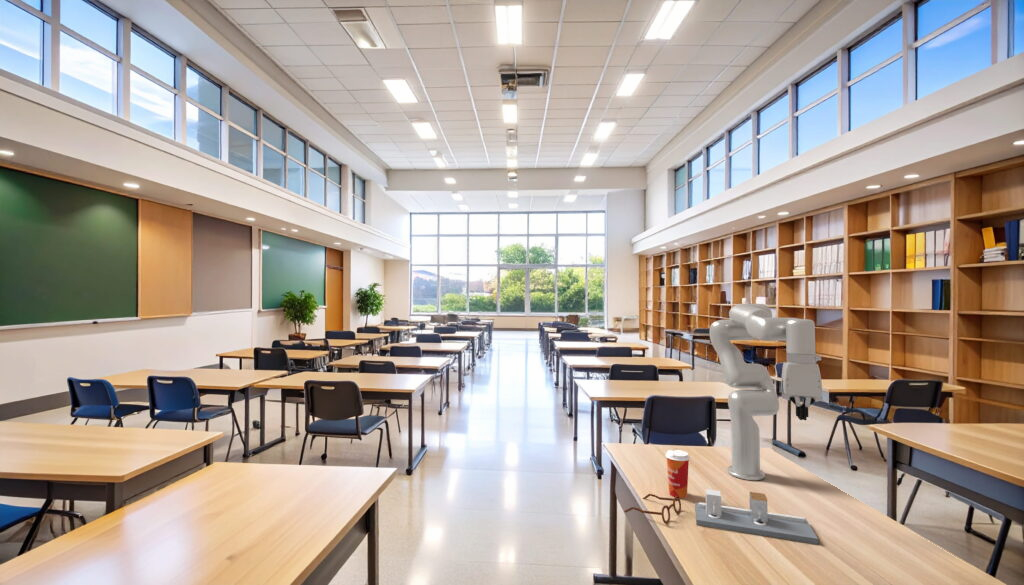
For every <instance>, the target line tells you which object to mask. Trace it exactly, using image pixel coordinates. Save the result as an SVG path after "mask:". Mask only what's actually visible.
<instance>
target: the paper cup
mask: <svg viewBox="0 0 1024 585" xmlns="http://www.w3.org/2000/svg"><path fill="white" fill-rule="evenodd" d="M665 457H666V466H667V468H666V469H667V479H668V480H667V482H668V483H667V484H668V493H669V495H670V496H671V497H672V498H674V497H676V496H677V497H679V499H685V498H687V497H688V485H689V465H690V464H689V462H690V459H691V458H690V456H689V453H688V452H687V451H685V450H684V451H683V450H680V449H672V450H671V449H669V450H667V451H666V454H665Z"/></svg>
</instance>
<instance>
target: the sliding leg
mask: <svg viewBox="0 0 1024 585" xmlns="http://www.w3.org/2000/svg"><path fill="white" fill-rule="evenodd" d="M749 510H750V516H751V519H752V520H753V521H759V522H766V523H768V497H767V496H766V494H765V493H762V492H761V493H760V492H752V491H749Z"/></svg>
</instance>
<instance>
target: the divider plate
mask: <svg viewBox="0 0 1024 585" xmlns="http://www.w3.org/2000/svg"><path fill="white" fill-rule="evenodd" d="M694 509H695V510H694V511H695V512H694V514H695V522H696V523H695V524H696V526H700V527H709V528H711V529H713V528H714V529H719V530H727V531H731V530H732V532H739V533H744V534H745V533H746V534H750V533H751V534H752V535H756V536H757V535H758V536H764V537H769V538H774V539H775V538H776V539H783V540H788V541H793V542H799V543H800V542H801V543H807V544H813V545H818V544H819V539H818V537H817V535H816V533H815V531H814V530H813V528H812V526H811V524H810V523H809V521H808V520H807V518H804V517H803V516H797V515H790V514H781V513H777V512H776V513H775V512H770V511H769V512H768V523H766V522H759V521H753V520H752V519H751V516H750V508H749V509H747V508H739V507H735V506H734V507H733V506H726V505H722V495H721V490H716V489H715V490H714V489H709V488H708V489H707V488H705V502H694Z"/></svg>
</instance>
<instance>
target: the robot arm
mask: <svg viewBox="0 0 1024 585" xmlns="http://www.w3.org/2000/svg"><path fill="white" fill-rule="evenodd" d="M728 316H729V319H718V320H715V321H714V322H712V323H711V325H710V326H709V339H710V343H711V344H712V345H711V346H712V347H713V349H714V351H715V352H716V354H717V356H718V358H719V359H718V360H719V363H720V365H721V369H722V373H723V376H724V378H725V383H726V384H727V386H729V387H730V388H734V389H738V390H733V391H731V392H730V393H729V394H728V396H727V406H728V410H729V416H730V431H731V432H730V434H731V435H730V437H731V439H730V440H731V465H730V466H728V467H727V469H726V470H727V473H728V474H729V475H730V476H732V477H735V478H738V479H740V480H747V481H762V480H764V479H765V478H766V473H765V472H764V471H763V470H761V447H760V446H761V445H760V443H761V442H760V441H761V440H760V438H761V437H760V436H761V435H760V434H761V433H760V428H759V425H758V424H757V422H756V421H755V419H754V417H756V416H759V417H760V416H761V417H762V416H763V417H765V416H767V417H768V416H774V415H776V414H778V412H779V411H780V401H779V398H778V394H777V392H776V388H775V385H774V382H773V380H772V377H771V375H770V372H769V371H768V370H769V369H767V368H766V367H765V365H763V364H760V363H747V362H746V361H745V360H744V357H743V354H742V352H741V350H740V349H739V348H738V347H737V346H736V344H734V343H733V342H731V341H753V340H755V339H758V340H760V341H767V342H772V341H774V342H776V341H777V342H778V341H780V342H781V341H782V342H786V344H785V345H786V347H785V348H786V349H785V350H786V353H785V354H786V362H785V361H784V362H783V364H782V368H781V370H782V371H781V382H780V388H781V394H780V395H781V396H780V397H781V398H782V399H784V400H787V401H791V402H792V403H793V404H794V405H795V416H796V417H797V419H798V420H800V421H808V420H807V418H809V408H810V406H811V405H812V404H814V403H815V402H817V403H818V402H822V401H823V400H824V399H823V384H822V378H821V377H822V375H821V371H820V367H819V364H818V363H817V362H818V361H822V356H821V355H817V354H816V325H815V324H816V323H815V321H814V320H812V319H808V318H804V319H803V318H797V317H773V312H772V310H771V308H770V307H769V306H768V305H766V304H764V303H739V304H735V305H733V306H732V307H731V308H730V310H729V312H728ZM800 397H801V398H802V397H803V399H802V404H801V399H800Z"/></svg>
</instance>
